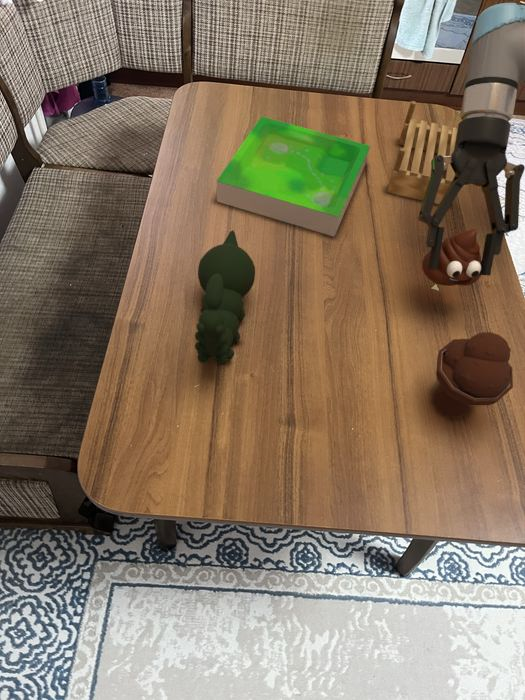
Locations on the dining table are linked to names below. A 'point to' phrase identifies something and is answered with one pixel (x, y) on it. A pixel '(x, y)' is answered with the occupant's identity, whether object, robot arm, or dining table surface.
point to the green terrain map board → (293, 175)
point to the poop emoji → (456, 260)
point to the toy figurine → (222, 299)
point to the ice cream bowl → (473, 373)
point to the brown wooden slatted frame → (420, 139)
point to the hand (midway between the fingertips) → (458, 271)
